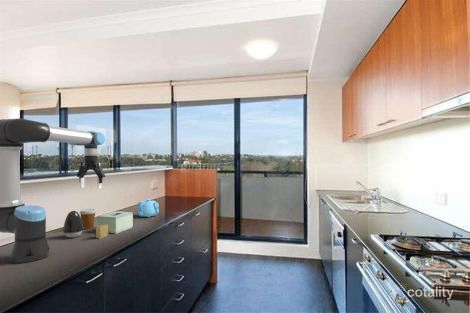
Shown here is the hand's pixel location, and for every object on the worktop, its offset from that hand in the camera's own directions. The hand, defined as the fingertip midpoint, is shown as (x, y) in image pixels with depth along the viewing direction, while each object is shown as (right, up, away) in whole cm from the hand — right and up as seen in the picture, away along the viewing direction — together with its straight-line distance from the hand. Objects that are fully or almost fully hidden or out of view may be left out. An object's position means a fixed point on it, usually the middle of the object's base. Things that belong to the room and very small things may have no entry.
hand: (90, 188), depth 178 cm
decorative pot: (+24, -27, +40) cm, 54 cm away
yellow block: (+16, -27, -18) cm, 36 cm away
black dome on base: (-2, -27, -17) cm, 32 cm away
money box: (+16, -27, -1) cm, 31 cm away
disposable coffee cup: (-3, -27, +3) cm, 27 cm away
